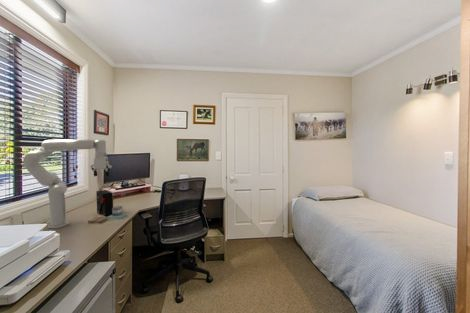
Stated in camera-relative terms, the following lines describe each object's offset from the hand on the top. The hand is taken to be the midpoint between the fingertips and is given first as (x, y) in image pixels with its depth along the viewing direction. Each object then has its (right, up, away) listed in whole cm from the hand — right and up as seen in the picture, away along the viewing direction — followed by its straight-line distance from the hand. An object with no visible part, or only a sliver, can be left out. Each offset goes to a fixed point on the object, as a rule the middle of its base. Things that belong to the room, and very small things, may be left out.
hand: (101, 176), depth 188 cm
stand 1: (-2, -36, -1) cm, 36 cm away
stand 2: (+8, -36, +9) cm, 38 cm away
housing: (+8, -34, +9) cm, 36 cm away
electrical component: (-7, -36, +19) cm, 41 cm away
